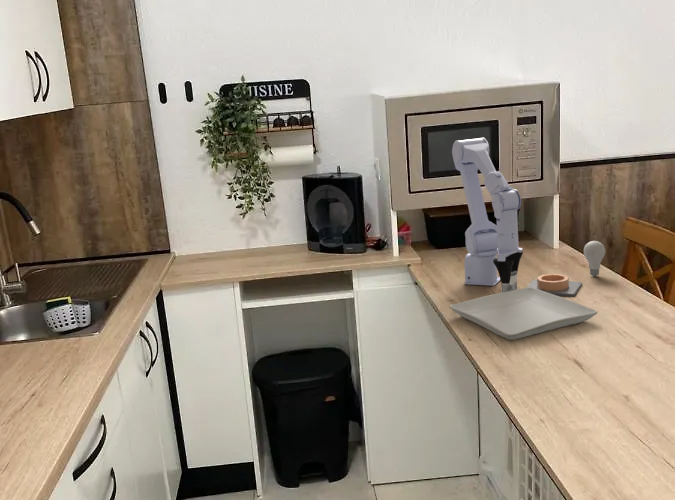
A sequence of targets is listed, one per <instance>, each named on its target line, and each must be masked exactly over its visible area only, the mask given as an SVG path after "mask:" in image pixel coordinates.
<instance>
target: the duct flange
mask: <svg viewBox="0 0 675 500" xmlns="http://www.w3.org/2000/svg"><path fill="white" fill-rule="evenodd" d="M582 286H583V282H582V281H574V280H573V281H572V280H570V281H569V277H568V276H567V275H565V274H561V273H560V274H559V273H549V274H548V273H546V274H543V275H539V276H537V278H535V279H532V281H531V282H530V283H528V285H527V286H526V287H525V288H528V287H531V288H535V289H538V290H541V291H544V292H547V293H550V294H553V295H556V296H559V297H572V298H573V297H575V296H576V295H577V293H578V291H579V290H580V288H581V287H582Z"/></svg>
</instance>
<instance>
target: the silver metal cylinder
mask: <svg viewBox="0 0 675 500" xmlns="http://www.w3.org/2000/svg"><path fill="white" fill-rule="evenodd" d="M512 290H518V272H517V270H514V269H511V277H510V283H509V284H502V283H501V293H502V292H507V291H512Z"/></svg>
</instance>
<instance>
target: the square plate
mask: <svg viewBox="0 0 675 500" xmlns="http://www.w3.org/2000/svg"><path fill="white" fill-rule="evenodd" d="M448 308H450V309H451V310H452V311H453V312H454V313H455V314H457V315H459V316H460V317H462V318H464V319H466V320H469V321H471V322H473V323H475V324H477V325H479V326H480V327H483V328H485V329H486V330H489V331H490V332H492V333H494V334H495V335H498V336H500V337H503V338H505V339H507V340H511V341H513V340H517V339H518V340H519V339H522V338H526V337H530V336H533V335H538V334H541V333H545V332H548V331H552V330H557V329H559V328H564V327H567V326H572V325H576V324H579V323H583V322H586V321H588V320H590V319H592V318H593V317H595V316H596V315H597V314H598V313H599V311H598V310H596V309H593V308H590V307H588V306H585V305H583V304H580V303H579V302H575V301H572V300H570V299H567V298H564V297H563V296H556V295H553V294H550V293H547V292H544V291H541V290H538V289H535V288H531V287H528V288H526V287H523V288H519V289H518V288H517V290H512V291H507V292H502V291H501V292H498V293H493V294H490V295H485V296H484V295H483V296H481V297H476V298H472V299H469V300H465V301H461V302H459V303H455V304H451V305H449V306H448Z"/></svg>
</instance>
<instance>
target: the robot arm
mask: <svg viewBox="0 0 675 500" xmlns="http://www.w3.org/2000/svg"><path fill="white" fill-rule="evenodd" d="M451 154H452V159H453V163H454V167H455V170H457V171H459V172H460V176H461V182H462V185H463V189H464V190H463V191H464V194H465V199H466V203H467V207H468V212H469V213H468V214H469V217H470V221H471V224H470V225H469V227H468V228H467V229H466V230H465V232H464V236H465V247H466V248H465V249H466V251H467V252H468V253H467V254H465V257H464V265H463V266H464V267H463V268H464V285H476V286H491V287H492V286H496V285H497V284H498V283H499V282H501V283H502V284H509V283H510V277H511V269H514V270H517V273H518V272H519V267H520V266H519V264H520V261H521V258H522V256H523V253H524V250H523V247H519V229H518V227H519V225H518V210H520V209H521V205H522V197H521V194H520V193H519V191H518V189H514V187H510V185H509V183H508V181H507V180H506V178H505V177H504V175H503V173H502V172H500V171H497V170H496V168H495V166H494V164H493V162H492V159H491V157H490V145H489V142H488V140H487V139H486V138H485V137H479V138H472V139H471V138H470V139H463V140H462V139H461V140H459V139H458V140H455V141H454V143H453V144H452V149H451ZM478 171H480V173H481V174H482V175H483V176H484V180H483V185H484V186H485V188H486V189H487V191H488V193H489V194H490V197H491V198H492V200H491V206H492V209H493V213H494V218H496V224H495V223H493V222H492V221H490V220H489V217H488V214H487V209H486V204H485V200H484V195H483V192H482V188H481V187H482V186H481V182H480V178H479V174H478Z"/></svg>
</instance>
